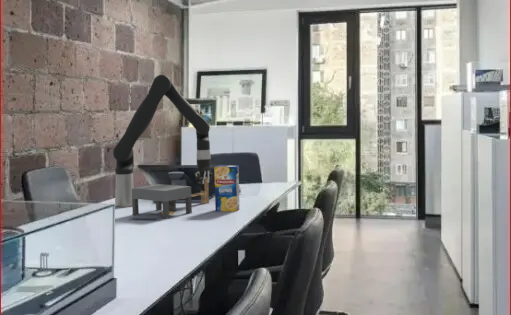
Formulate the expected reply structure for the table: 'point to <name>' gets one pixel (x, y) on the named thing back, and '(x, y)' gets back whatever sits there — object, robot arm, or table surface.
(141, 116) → the robot arm
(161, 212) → the brass token
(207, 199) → the oak rake
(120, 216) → the table surface
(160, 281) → the table surface
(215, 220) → the table surface
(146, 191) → the charcoal table
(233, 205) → the blue yellow food box
